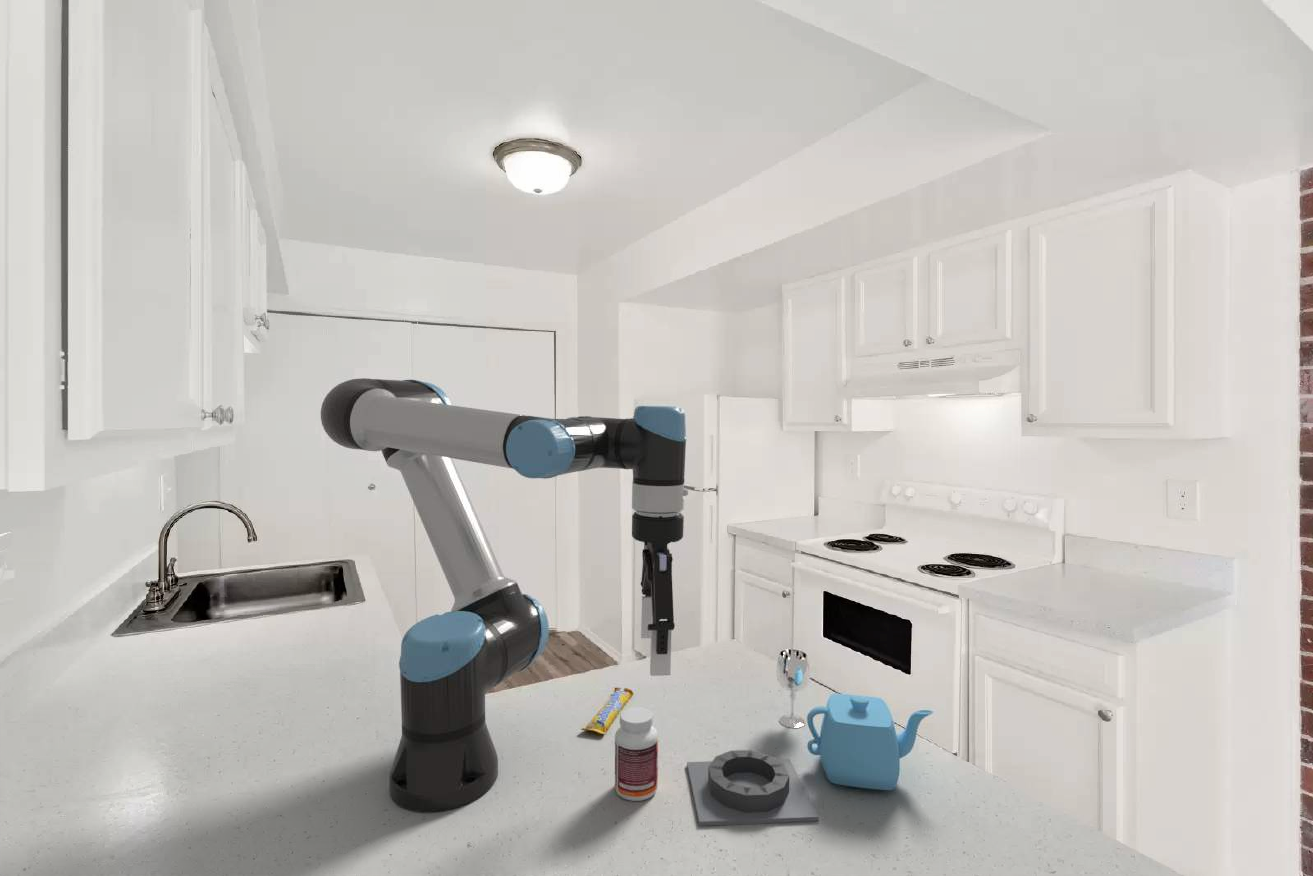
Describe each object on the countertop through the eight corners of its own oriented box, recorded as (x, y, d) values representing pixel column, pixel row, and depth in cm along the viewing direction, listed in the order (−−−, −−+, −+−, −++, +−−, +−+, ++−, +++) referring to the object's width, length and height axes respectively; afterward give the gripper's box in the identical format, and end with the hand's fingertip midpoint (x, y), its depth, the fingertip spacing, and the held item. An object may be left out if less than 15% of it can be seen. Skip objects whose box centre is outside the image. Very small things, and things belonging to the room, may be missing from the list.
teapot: (940, 806, 88) (942, 726, 88) (807, 789, 92) (808, 712, 91) (922, 758, 100) (924, 687, 100) (805, 745, 104) (806, 676, 104)
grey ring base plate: (699, 826, 84) (699, 804, 84) (687, 765, 98) (687, 747, 98) (818, 821, 85) (818, 799, 85) (789, 762, 99) (789, 743, 99)
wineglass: (812, 717, 113) (813, 651, 112) (805, 733, 108) (806, 663, 107) (779, 711, 116) (780, 646, 115) (771, 725, 110) (772, 657, 110)
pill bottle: (666, 793, 91) (666, 718, 90) (629, 808, 88) (629, 730, 87) (642, 772, 96) (643, 701, 96) (607, 785, 93) (607, 712, 92)
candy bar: (614, 693, 123) (614, 684, 123) (635, 696, 122) (635, 687, 122) (580, 737, 107) (580, 726, 107) (603, 741, 106) (603, 730, 106)
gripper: (698, 529, 81) (694, 692, 82) (671, 498, 106) (668, 624, 107) (639, 529, 80) (636, 694, 81) (626, 498, 105) (623, 625, 106)
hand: (654, 654), depth 94 cm, fingers open, 13 cm apart
